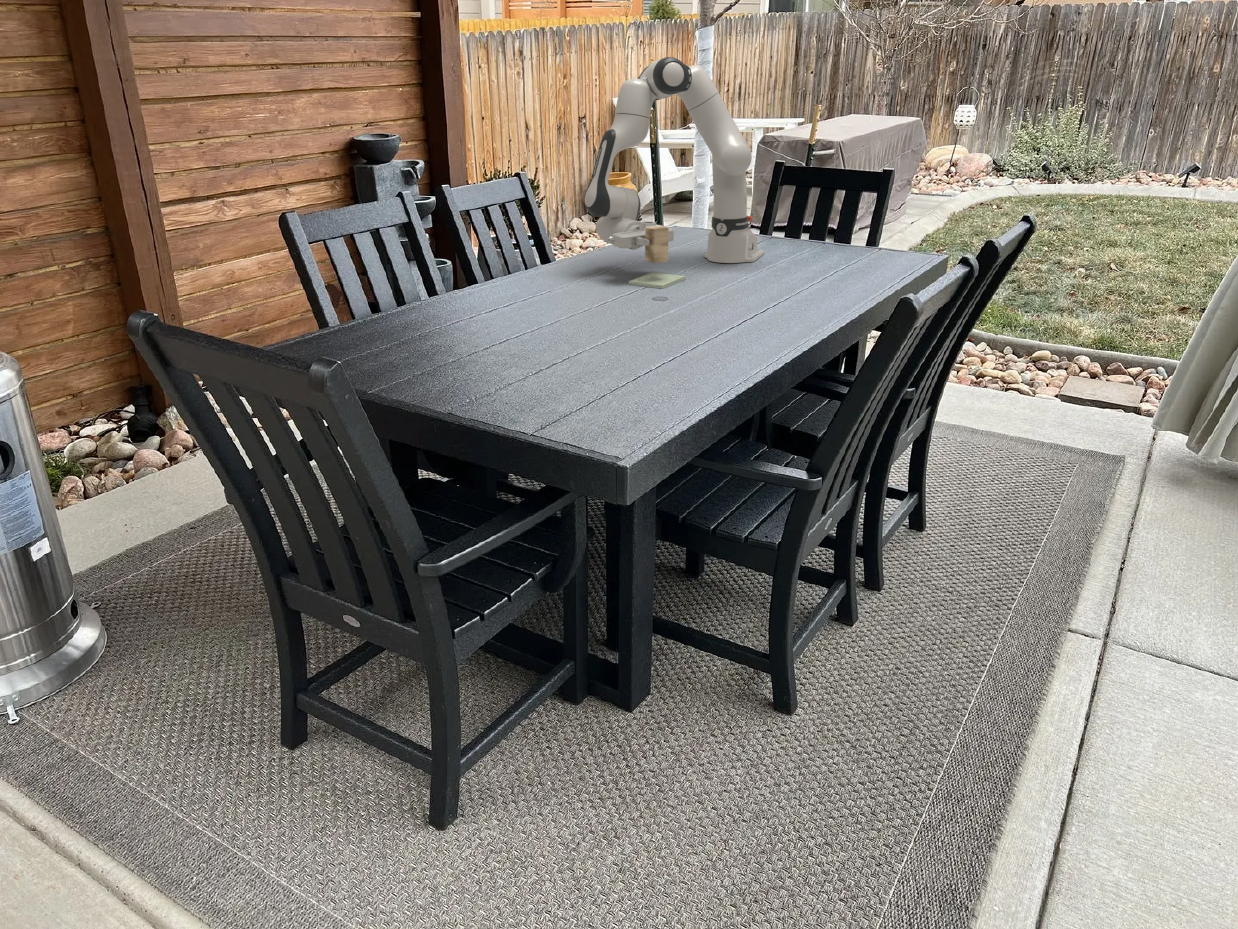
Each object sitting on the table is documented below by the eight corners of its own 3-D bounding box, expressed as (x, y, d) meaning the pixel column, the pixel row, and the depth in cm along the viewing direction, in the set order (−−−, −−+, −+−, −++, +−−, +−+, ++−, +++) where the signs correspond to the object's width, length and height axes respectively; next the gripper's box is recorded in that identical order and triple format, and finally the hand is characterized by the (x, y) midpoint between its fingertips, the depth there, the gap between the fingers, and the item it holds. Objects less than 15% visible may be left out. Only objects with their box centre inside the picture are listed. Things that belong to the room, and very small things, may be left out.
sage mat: (652, 275, 292) (652, 272, 292) (685, 279, 286) (685, 276, 286) (628, 284, 282) (628, 281, 281) (662, 288, 276) (662, 285, 275)
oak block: (645, 260, 282) (645, 227, 278) (658, 258, 284) (658, 225, 280) (654, 263, 278) (655, 229, 274) (667, 261, 281) (668, 227, 277)
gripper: (604, 228, 282) (630, 234, 271) (657, 220, 292) (684, 227, 282) (604, 248, 284) (630, 256, 274) (657, 241, 295) (684, 247, 285)
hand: (658, 241), depth 278 cm, fingers closed on oak block, 5 cm apart
